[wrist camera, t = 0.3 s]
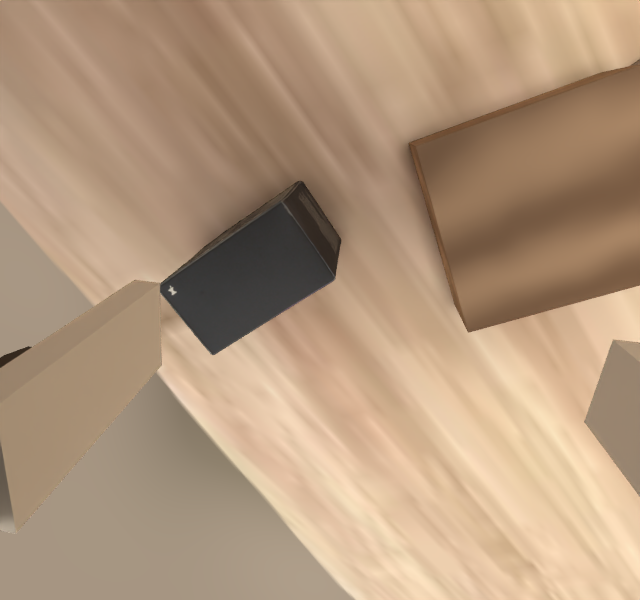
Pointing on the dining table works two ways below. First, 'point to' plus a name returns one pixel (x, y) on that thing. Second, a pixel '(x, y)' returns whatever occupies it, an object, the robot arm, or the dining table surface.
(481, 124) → the walnut block
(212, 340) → the small box
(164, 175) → the dining table surface
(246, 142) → the dining table surface
